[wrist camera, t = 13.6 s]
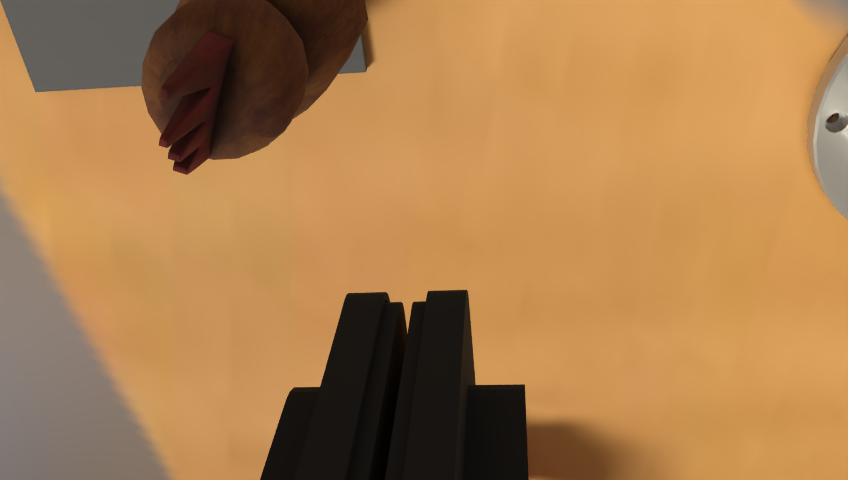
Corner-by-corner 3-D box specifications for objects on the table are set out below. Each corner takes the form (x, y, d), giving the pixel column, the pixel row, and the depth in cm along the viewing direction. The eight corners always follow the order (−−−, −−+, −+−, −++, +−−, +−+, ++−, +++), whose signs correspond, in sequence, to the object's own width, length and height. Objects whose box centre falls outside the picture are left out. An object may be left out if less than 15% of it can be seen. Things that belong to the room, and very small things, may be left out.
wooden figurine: (285, -129, 28) (109, -30, 16) (405, -24, 30) (332, 141, 18) (193, 9, 32) (-14, 183, 19) (307, 98, 33) (186, 311, 21)
